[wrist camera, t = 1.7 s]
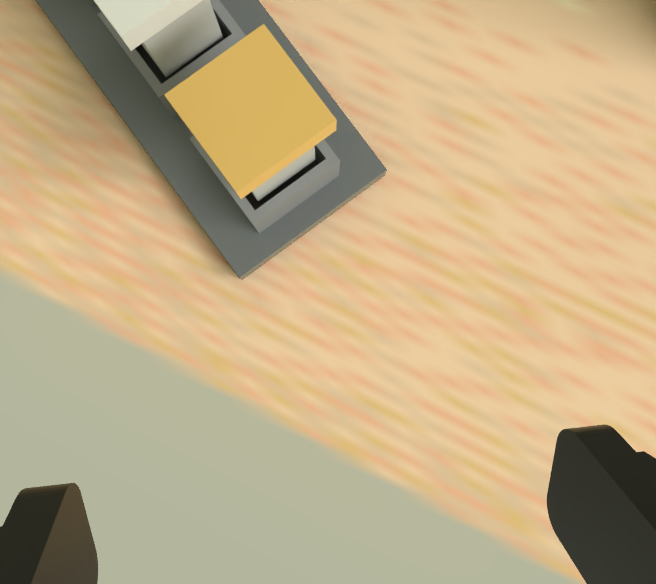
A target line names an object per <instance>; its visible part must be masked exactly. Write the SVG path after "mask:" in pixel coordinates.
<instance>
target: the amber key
mask: <svg viewBox="0 0 656 584" xmlns="http://www.w3.org/2000/svg"><path fill="white" fill-rule="evenodd" d="M164 95H165V97H166V98H167V100H168V101H169V102H170V104H171V105H172V107H173V108H174V109H175V111H176V112H177V113H178V115H179V116H180V118H181V119H182V120H183V122H184V123H185V124H186V126H187V127H188V128H189V130H190V131H191V132H192V134H193V135H194V136H195V138H196V139H197V141H198V142H199V143H200V145H201V146H202V147H203V149H204V150H205V151H206V153H207V154H208V155H209V157H210V158H211V159H212V161H213V162H214V163H215V165H216V166H217V168H218V169H219V170H220V172H221V173H222V174H223V176H224V177H225V178H226V180H227V181H228V182H229V184H230V185H231V186H232V188H233V189H234V191H235V192H236V193H237V195H238V196H239V197H240V199H242V198H244V197H245V196H246V195H248V194H249V193H250V192H252V194H253V195H254V197H255V198H256V199H257V201H260V200H261V199H262V198H264V197H265V196H266V195H268V194H269V193H271V192H272V191H273V190H275V189H276V188H277V187H279V186H280V185H282V184H283V183H284V182H286V181H287V180H288V179H290V178H291V177H293V176H294V175H295V174H297V173H298V172H299V171H301V170H302V169H304V168H305V167H306V166H308V165H309V164H310V163H312V162H313V161H315V145H317V144H318V143H319V142H321V141H322V140H323V139H325V138H326V137H328V136H329V135H330V134H332V133H333V132H335V131H336V125H337V120H336V118H335V117H334V116H333V114H332V113H331V112H330V110H329V109H328V108H327V106H326V105H325V104H324V103H323V101H322V100H321V99H320V97H319V96H318V95H317V93H316V92H315V91H314V89H313V88H312V87H311V85H310V84H309V83H308V81H307V80H306V79H305V77H304V76H303V75H302V73H301V72H300V71H299V69H298V68H297V67H296V66H295V64H294V63H293V62H292V60H291V59H290V58H289V56H288V55H287V54H286V52H285V51H284V50H283V48H282V47H281V46H280V44H279V43H278V42H277V40H276V39H275V38H274V36H273V35H272V34H271V32H270V31H269V30H268V29H267V27H266V26H265V25H264V24H263V25H261V26H260V27H258V28H257V29H256V30H254V31H253V32H251V33H250V34H249V35H247V36H246V37H244V38H243V39H242V40H240V41H239V42H237V43H236V44H235V45H233V46H232V47H230V48H229V49H228V50H226V51H225V52H223V53H222V54H221V55H219V56H218V57H216V58H215V59H214V60H212V61H211V62H209V63H208V64H206V65H205V66H204V67H202V68H201V69H199V70H198V71H197V72H195V73H194V74H192V75H191V76H190V77H188V78H187V79H185V80H184V81H183V82H181V83H180V84H178V85H177V86H176V87H174V88H173V89H171V90H170V91H169V92H167V93H166V94H164Z"/></svg>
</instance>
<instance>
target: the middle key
mask: <svg viewBox="0 0 656 584" xmlns="http://www.w3.org/2000/svg"><path fill="white" fill-rule="evenodd" d="M94 2H95V3H96V4H97V6H98V7H99V8H100V10H101V11H102V12H103V14H104V15H105V16H106V18H107V19H108V21H109V22H110V23H111V25H112V26H113V27H114V29H115V30H116V31H117V33H118V34H119V35H120V37H121V38H122V39H123V41H124V42H125V44H126V45H127V46H128V48H129V49H130V50H131V51H132V50H133V49H135V48H136V47H137V46H139V45H140V44H142V46H143V47H144V48H145V50H146V51H147V53H148V54H149V55H150V57H151V58H152V59H153V61H154V62H155V63H156V65H157V66H158V67H159V69H160V70H161V71H162V73H163V74H164V75H165V77H168V76H169V75H170V74H172V73H173V72H175V71H176V70H177V69H179V68H180V67H182V66H183V65H184V64H186V63H187V62H189V61H190V60H191V59H193V58H194V57H196V56H197V55H198V54H200V53H201V52H203V51H204V50H206V49H207V48H208V47H210V46H211V45H213V44H214V43H215V42H217V41H218V40H220V39H221V38H222V37H223V36H222V33H221V30H220V27H219V24H218V22H217V19H216V16H215V13H214V10H213V8H212V5H211V2H210V0H94Z"/></svg>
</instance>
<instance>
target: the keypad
mask: <svg viewBox="0 0 656 584" xmlns="http://www.w3.org/2000/svg"><path fill="white" fill-rule="evenodd" d="M36 1H37V3H38V4H39V6H40V7H41V8H42V10H43V11H44V12H45V14H46V15H47V16H48V18H49V19H50V21H51V22H52V23H53V25H54V26H55V27H56V29H57V30H58V31H59V33H60V34H61V36H62V37H63V38H64V40H65V41H66V42H67V44H68V45H69V46H70V48H71V49H72V51H73V52H74V53H75V55H76V56H77V57H78V59H79V60H80V61H81V63H82V64H83V66H84V67H85V68H86V70H87V71H88V72H89V74H90V75H91V76H92V78H93V79H94V81H95V82H96V83H97V85H98V86H99V87H100V89H101V90H102V91H103V93H104V94H105V96H106V97H107V98H108V100H109V101H110V102H111V104H112V105H113V106H114V108H115V109H116V111H117V112H118V113H119V115H120V116H121V117H122V119H123V120H124V121H125V123H126V124H127V126H128V127H129V128H130V130H131V131H132V132H133V134H134V135H135V136H136V138H137V139H138V141H139V142H140V143H141V145H142V146H143V147H144V149H145V150H146V151H147V153H148V154H149V156H150V157H151V158H152V160H153V161H154V162H155V164H156V165H157V166H158V168H159V169H160V171H161V172H162V173H163V175H164V176H165V177H166V179H167V180H168V181H169V183H170V184H171V186H172V187H173V188H174V190H175V191H176V192H177V194H178V195H179V196H180V198H181V199H182V201H183V202H184V203H185V205H186V206H187V207H188V209H189V210H190V211H191V213H192V214H193V216H194V217H195V218H196V220H197V221H198V222H199V224H200V225H201V226H202V228H203V229H204V231H205V232H206V233H207V235H208V236H209V237H210V239H211V240H212V241H213V243H214V244H215V246H216V247H217V248H218V250H219V251H220V252H221V254H222V255H223V256H224V258H225V259H226V261H227V262H228V263H229V265H230V266H231V267H232V269H233V270H234V271H235V273H236V274H237V276H238V277H239V278H240V279H242V280H243V279H244V278H245V277H247V276H248V275H249V274H251V273H252V272H254V271H255V270H256V269H258V268H259V267H260V266H262V265H263V264H265V263H266V262H267V261H269V260H270V259H271V258H273V257H274V256H275V255H277V254H278V253H280V252H281V251H282V250H284V249H285V248H286V247H288V246H289V245H290V244H292V243H293V242H295V241H296V240H297V239H299V238H300V237H301V236H303V235H304V234H305V233H307V232H308V231H310V230H311V229H312V228H314V227H315V226H316V225H318V224H319V223H320V222H322V221H323V220H325V219H326V218H327V217H329V216H330V215H331V214H333V213H334V212H336V211H337V210H338V209H340V208H341V207H342V206H344V205H345V204H346V203H348V202H349V201H351V200H352V199H353V198H355V197H356V196H357V195H359V194H360V193H361V192H363V191H364V190H366V189H367V188H368V187H370V186H371V185H372V184H374V183H375V182H376V181H378V180H379V179H381V178H382V177H383V176H385V173H386V171H387V169H386V168H385V167H384V165H383V164H382V163H381V161H380V160H379V159H378V157H377V156H376V155H375V153H374V152H373V151H372V150H371V148H370V147H369V146H368V144H367V143H366V142H365V140H364V139H363V138H362V136H361V135H360V134H359V132H358V131H357V130H356V128H355V127H354V126H353V124H352V123H351V122H350V121H349V119H348V118H347V117H346V115H345V114H344V113H343V111H342V110H341V109H340V107H339V106H338V105H337V103H336V102H335V101H334V99H333V98H332V97H331V95H330V94H329V93H328V92H327V90H326V89H325V88H324V86H323V85H322V84H321V82H320V81H319V80H318V78H317V77H316V76H315V74H314V73H313V72H312V70H311V69H310V68H309V66H308V65H307V64H306V63H305V61H304V60H303V59H302V57H301V56H300V55H299V53H298V52H297V51H296V49H295V48H294V47H293V45H292V44H291V43H290V41H289V40H288V39H287V37H286V36H285V35H284V33H283V32H282V31H281V30H280V28H279V27H278V26H277V24H276V23H275V22H274V20H273V19H272V18H271V16H270V15H269V14H268V12H267V11H266V10H265V8H264V7H263V6H262V4H261V3H260V2H259V1H258V0H210V2H211V5H212V8H213V10H214V13H215V16H216V19H217V22H218V24H219V27H220V30H221V33H222V36H223V37H222V38H221V39H220V40H218V41H217V42H215V43H214V44H213V45H211V46H210V47H208V48H207V49H206V50H204V51H203V52H201V53H200V54H198V55H197V56H196V57H194V58H193V59H191V60H190V61H189V62H187V63H186V64H184V65H183V66H182V67H180V68H179V69H177V70H176V71H175V72H173V73H172V74H170V75H169V76H168V77H165V75H164V74H163V73H162V71H161V70H160V69H159V67H158V66H157V65H156V63H155V62H154V61H153V59H152V58H151V57H150V55H149V54H148V53H147V51H146V50H145V48H144V47H143V46H142V44H140V45H139V46H137V47H136V48H135V49H133V50H132V51H131V50H130V49H129V48H128V46H127V45H126V44H125V42H124V41H123V39H122V38H121V37H120V35H119V34H118V33H117V31H116V30H115V29H114V27H113V26H112V25H111V23H110V22H109V21H108V19H107V18H106V16H105V15H104V14H103V12H102V11H101V10H100V8H99V7H98V6H97V4H96V3H95V2H94V0H36ZM263 24H264V25H265V26H266V27H267V29H268V30H269V31H270V32H271V34H272V35H273V36H274V38H275V39H276V40H277V42H278V43H279V44H280V46H281V47H282V48H283V50H284V51H285V52H286V54H287V55H288V56H289V58H290V59H291V60H292V62H293V63H294V64H295V66H296V67H297V68H298V69H299V71H300V72H301V73H302V75H303V76H304V77H305V79H306V80H307V81H308V83H309V84H310V85H311V87H312V88H313V89H314V91H315V92H316V93H317V95H318V96H319V97H320V99H321V100H322V101H323V103H324V104H325V105H326V106H327V108H328V109H329V110H330V112H331V113H332V114H333V116H334V117H335V118H336V120H337V125H336V131H335V132H333V133H332V134H330V135H329V136H328V137H326V138H325V139H323V140H322V141H321V142H319V143H318V144H317V145H315V161H313V162H312V163H310V164H309V165H308V166H306V167H305V168H304V169H302V170H301V171H299V172H298V173H297V174H295V175H294V176H293V177H291V178H290V179H288V180H287V181H286V182H284V183H283V184H282V185H280V186H279V187H277V188H276V189H275V190H273V191H272V192H271V193H269V194H268V195H266V196H265V197H264V198H262V199H261V200H260V201H257V199H256V198H255V197H254V195H253V194H252V192H250V193H249V194H248V195H246V196H245V197H244V198H242V199H240V197H239V196H238V195H237V193H236V192H235V191H234V189H233V188H232V186H231V185H230V184H229V182H228V181H227V180H226V178H225V177H224V176H223V174H222V173H221V172H220V170H219V169H218V168H217V166H216V165H215V163H214V162H213V161H212V159H211V158H210V157H209V155H208V154H207V153H206V151H205V150H204V149H203V147H202V146H201V145H200V143H199V142H198V141H197V139H196V138H195V136H194V135H193V134H192V132H191V131H190V130H189V128H188V127H187V126H186V124H185V123H184V122H183V120H182V119H181V118H180V116H179V115H178V113H177V112H176V111H175V109H174V108H173V107H172V105H171V104H170V102H169V101H168V100H167V98H166V97H165V95H164V94H166V93H167V92H169V91H170V90H171V89H173V88H174V87H176V86H177V85H178V84H180V83H181V82H183V81H184V80H185V79H187V78H188V77H190V76H191V75H192V74H194V73H195V72H197V71H198V70H199V69H201V68H202V67H204V66H205V65H206V64H208V63H209V62H211V61H212V60H214V59H215V58H216V57H218V56H219V55H221V54H222V53H223V52H225V51H226V50H228V49H229V48H230V47H232V46H233V45H235V44H236V43H237V42H239V41H240V40H242V39H243V38H244V37H246V36H247V35H249V34H250V33H251V32H253V31H254V30H256V29H257V28H258V27H260V26H261V25H263Z"/></svg>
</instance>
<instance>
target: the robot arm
mask: <svg viewBox="0 0 656 584" xmlns="http://www.w3.org/2000/svg"><path fill="white" fill-rule="evenodd" d="M547 508H548V514H549V518H550V521H551V524H552V527H553V529H554V531H555V533H556V535H557V537H558V538H559V540H560V542H561V543H562V545H563V546H564V548H565V550H566V551H567V553H568V554H569V556H570V558H571V559H572V561H573V562H574V564H575V566H576V567H577V569H578V570H579V572H580V574H581V575H582V577H583V578H584V580H585V581H586V583H587V584H656V459H655V458H654V457H652V456H651V455H649V454H647V453H646V452H636V451H635V450H634V449H633V448H632V447H631V446H630V445H629V444H628V443H627V442H626V441H625V440H624V439H623V438H622V437H621V435H620V434H619V433H618V432H617V431H616V430H615V429H614V428H612V427H611V426H608V425H597V426H588V427H579V428H570V429H564V430H562V431H561V432H560V433H559V435H558V438H557V443H556V448H555V454H554V460H553V465H552V471H551V477H550V482H549V488H548V493H547ZM97 580H98V560H97V553H96V549H95V544H94V541H93V537H92V533H91V530H90V526H89V522H88V518H87V515H86V511H85V507H84V503H83V500H82V496H81V492H80V489H79V487H78V486H77V485H76V484H75V483H69V484H61V485H51V486H43V487H34V488H26V489H23V490H21V492H20V493H19V494H18V496H17V497H16V499H15V501H14V503H13V505H12V508H11V510H10V512H9V514H8V516H7V518H6V520H5V522H4V524H3V526H2V527H0V584H97Z"/></svg>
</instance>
